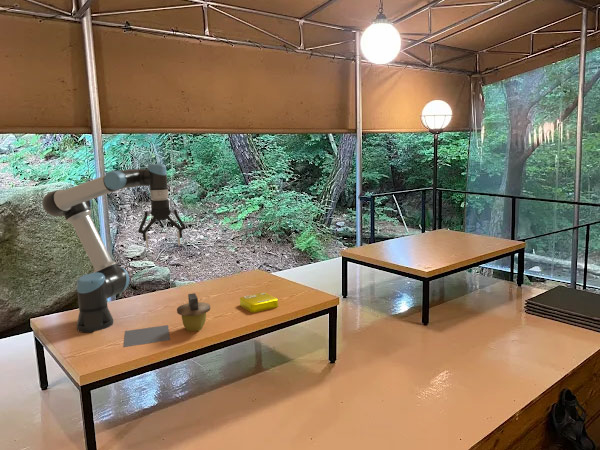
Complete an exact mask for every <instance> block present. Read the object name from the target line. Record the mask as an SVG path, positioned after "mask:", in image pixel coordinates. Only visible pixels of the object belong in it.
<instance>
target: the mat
mask: <svg viewBox="0 0 600 450" xmlns="http://www.w3.org/2000/svg"><path fill="white" fill-rule="evenodd" d="M123 336H124V338H123V345H122V347H123V348H126V347H134V346H140V345H147V344H154V343H161V342H167V341H171V337H170V330H169V325H168V324H167V325H166V324H165V325H159V326H152V327H147V328H146V327H145V328H143V327H142V328H138V329H130V330H124V335H123Z"/></svg>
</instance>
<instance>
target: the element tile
mask: <svg viewBox="0 0 600 450" xmlns="http://www.w3.org/2000/svg"><path fill="white" fill-rule="evenodd" d="M239 305H240V307H241V308H243V309H244V310H245V311H248V312H250V313H252V314H253V313H259V312H263V311H267V310H271V309H277V308H278V307H279V299H278V297H275V296H273V295H271V294H269V293H267V292H266V291H265V292H264V291H263V292H259V293H255V294H250V295H245V296H241V297H240V298H239Z"/></svg>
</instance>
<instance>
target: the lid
mask: <svg viewBox="0 0 600 450" xmlns="http://www.w3.org/2000/svg"><path fill="white" fill-rule="evenodd" d="M187 297H188V302H187V303H183V304H181V305H180V306H178V307H177V308H176V313H177V314H178V315H180V316H181V315H183V316H195V315H200V314H204V313H206V314H207V313H208V312H209V311H210V310H211V305H210V303H207V302H203V301H199V299H198V297H197V295H196V293H188V294H187Z"/></svg>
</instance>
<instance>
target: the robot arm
mask: <svg viewBox="0 0 600 450" xmlns="http://www.w3.org/2000/svg"><path fill="white" fill-rule="evenodd" d="M136 187H149V192H150V193H149V194H150V199H151V201H150V203H151V204H150V207H151V211H149V210H148V211H147V210H145V211H144V214H143V215H144V216H143V218H142V221H141V223H140V225H139V228H138V230H137V233H139V234H141V235H142V240H143V242H145V243H146V249H147V250H148V249H149V247H150V246H149V236H148V230H149V229H150V228H151V227H152V225H153V224H154V223H155V221H158V222H159V221H160V222H161V221H166V220H168V221H169V222H170V223H171V224H172V225H173V226H174V227H175V228H176V229H177V230H176V231H177V232H176V233H177V244H178V246H181V239H182V238H183V230H186V229H187V228H186V226H185V223H184V222H183V221H182V219H181V217H180V216H179V215H178V214H179V213H178V210H177V209H176V208H174V209H170V201H169V190H168V173H167V167H166V165H165V164H164V163H153V164H152V163H150V164H148V166H147V168H130V169H124V170H112V171H108V172H107V173H106V174H105V175H102V176H99V177H97V178H95V179H91V180H88V181H86V182H83V183H80V184H78V185H75V186H72V187H70V188H68V189H67V188H66V189H57V190H53V191H50V192H48V193H47V194H45V196H44V197H43V199H42V207H43V210H44V211H45V212H46V213H47V214H48V215H50V216H52V217H64V218H65V220H66V222H68V223H71V225H72V227H73V228H74V231H75V232H76V234H77V236H78V239H79V241H80V243H81V245H82V248H83V249H84V251H85V253H86V255H87V257H88V259H89V260H90V263H91V265H92V267H93V272H90V273H87V274H84V275H82V276H80V277H79V278H77V280H76V294H77V299H78V300H77V301H78V310H79V314H78V317H77V321H76V329H77V331H78V330H79V331H78V332H80V331H82V332H81V333H94V332H96V331H101V330H104V329H107V328H110V327H111V326H113V324H114V318H113V316H112V314H111V311H110V310H109V306H108V299H109V298H111V297H113V296H116V295H119V294H121V293H122V292H124V291H125V290H126V289H127V288H128V287H129V284H130V280H131V279H130V275H129V272H128V271H127V270H126V269H125V268H123V267H120V265H119V264H118V262H117V261H113V259H112V258H111V256H110V253H109V252H108V249H107V247H106V246H105V243H104V241H103V239H102V238H101V235H100V233H99V231H98V229H97V227H96V225H95V223H94V221H93V219H92V217H91V214H92V209H91V208H92V203H93V201H92V200H93V199H96V198H99V197H102V196H105V195H107V194H110V193H113V192H117V191H120V190H123V189H126V188H127V189H128V188H136ZM171 213H172V215H174V216H175V218H176V219H177V221H178V223H179V224H180V226H179V224H177V222H176V221H174V219H172V218H171V216H170V214H171ZM149 216H152V218H151V220H150V221H149V222H148V223H147V225H146V227H145V228H144V226H145V224H146V221H147V219H148V217H149ZM143 228H144V229H143Z"/></svg>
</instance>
